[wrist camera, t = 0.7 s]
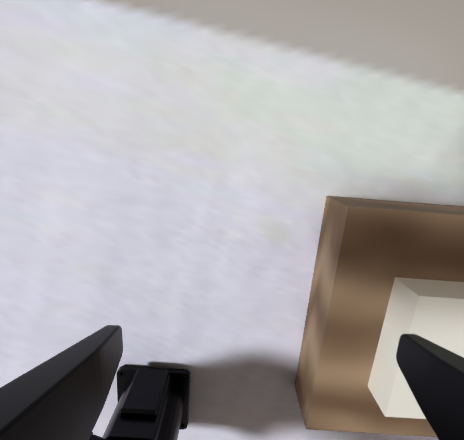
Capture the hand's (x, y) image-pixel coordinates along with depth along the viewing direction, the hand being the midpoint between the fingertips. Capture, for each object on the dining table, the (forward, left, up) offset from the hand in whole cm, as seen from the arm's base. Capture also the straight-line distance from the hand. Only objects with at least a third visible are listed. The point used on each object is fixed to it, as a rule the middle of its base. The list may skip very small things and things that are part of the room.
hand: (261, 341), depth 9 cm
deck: (-6, -13, -13) cm, 20 cm away
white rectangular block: (-6, -13, -8) cm, 16 cm away
